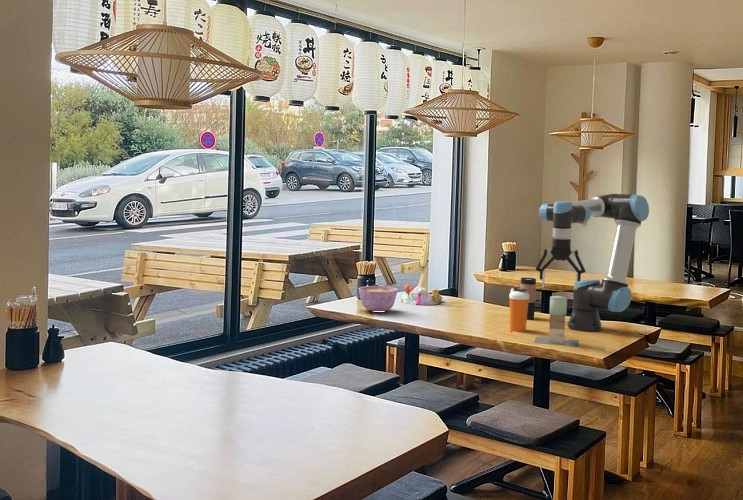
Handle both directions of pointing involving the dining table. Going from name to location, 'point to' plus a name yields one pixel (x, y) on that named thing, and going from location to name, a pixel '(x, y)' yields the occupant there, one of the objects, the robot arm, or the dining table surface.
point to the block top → (557, 321)
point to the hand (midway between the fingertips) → (559, 288)
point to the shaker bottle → (518, 309)
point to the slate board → (566, 343)
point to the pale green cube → (558, 305)
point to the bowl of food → (377, 297)
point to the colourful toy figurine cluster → (420, 296)
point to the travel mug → (531, 290)
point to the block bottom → (556, 335)
